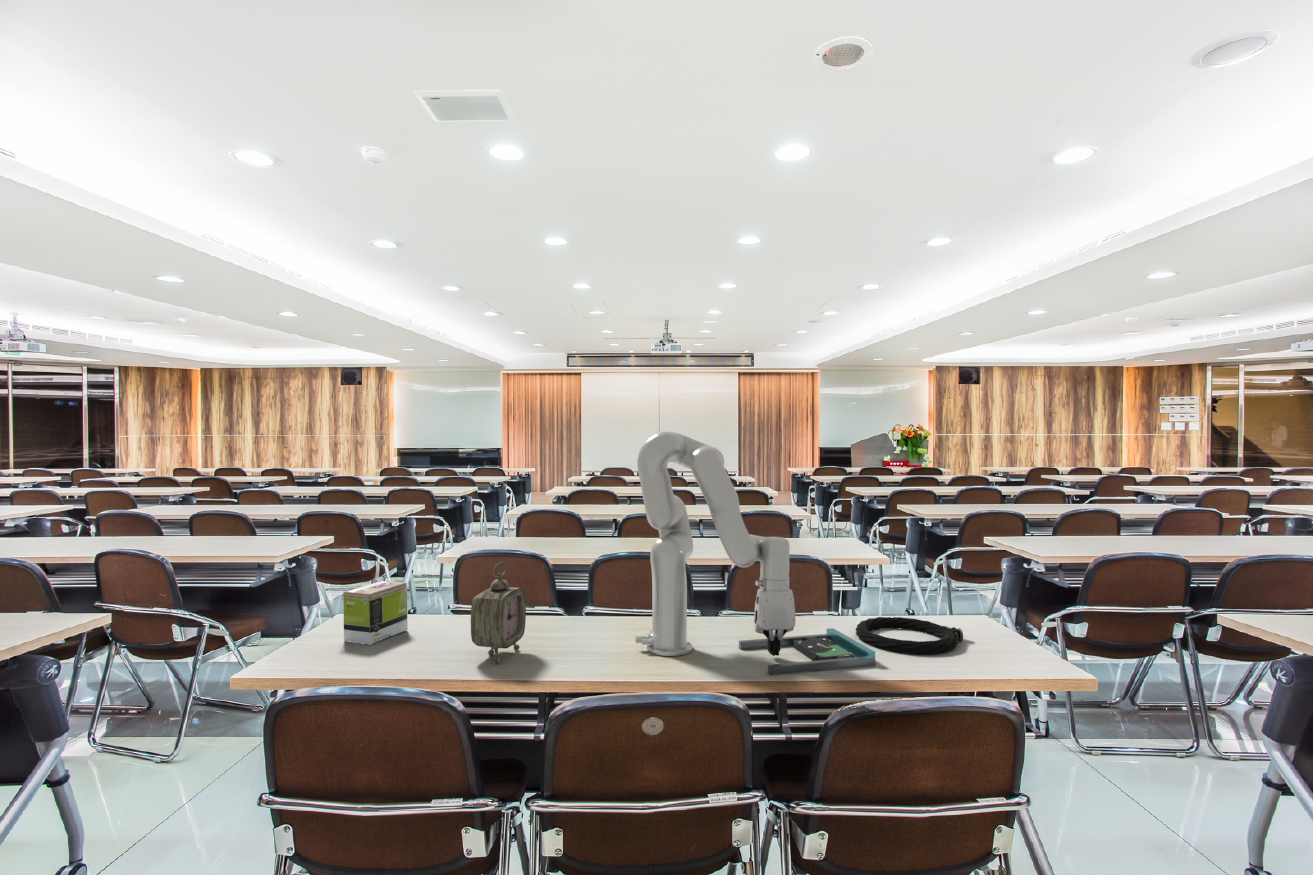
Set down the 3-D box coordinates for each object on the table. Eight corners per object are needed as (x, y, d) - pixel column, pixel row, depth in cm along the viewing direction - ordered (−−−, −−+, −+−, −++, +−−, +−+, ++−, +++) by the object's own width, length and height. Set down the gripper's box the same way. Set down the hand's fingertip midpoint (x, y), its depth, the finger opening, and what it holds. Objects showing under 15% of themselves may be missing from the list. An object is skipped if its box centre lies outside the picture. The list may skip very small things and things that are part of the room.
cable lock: (843, 614, 193) (940, 615, 193) (843, 627, 193) (940, 627, 193) (873, 642, 166) (985, 643, 165) (873, 657, 166) (985, 657, 165)
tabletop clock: (500, 667, 156) (500, 568, 157) (468, 664, 158) (468, 566, 159) (525, 649, 170) (526, 558, 171) (495, 646, 172) (496, 556, 173)
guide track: (770, 675, 151) (770, 660, 151) (738, 647, 171) (738, 635, 172) (875, 665, 158) (875, 651, 158) (832, 640, 178) (832, 628, 178)
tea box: (381, 627, 190) (382, 579, 190) (408, 631, 187) (408, 582, 187) (342, 642, 176) (342, 590, 176) (369, 646, 172) (370, 593, 173)
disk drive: (792, 650, 172) (819, 667, 158) (792, 639, 172) (819, 656, 158) (825, 646, 175) (855, 664, 160) (825, 636, 175) (855, 653, 160)
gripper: (753, 589, 158) (752, 661, 157) (807, 586, 161) (806, 656, 161) (742, 582, 165) (741, 651, 165) (794, 580, 168) (793, 647, 168)
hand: (773, 653), depth 163 cm, fingers closed
